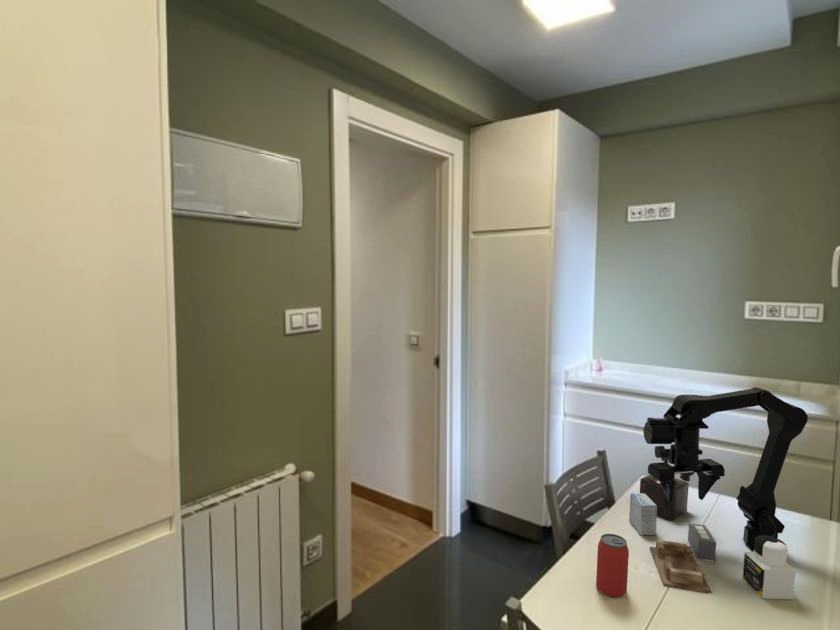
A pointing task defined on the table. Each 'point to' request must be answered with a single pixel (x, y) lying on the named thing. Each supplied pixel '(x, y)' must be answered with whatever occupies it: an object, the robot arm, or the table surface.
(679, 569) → the cradle board
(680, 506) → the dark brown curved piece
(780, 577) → the medicine bottle
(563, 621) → the table surface
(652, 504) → the medicine box
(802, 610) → the table surface
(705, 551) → the power strip
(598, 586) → the beer can
